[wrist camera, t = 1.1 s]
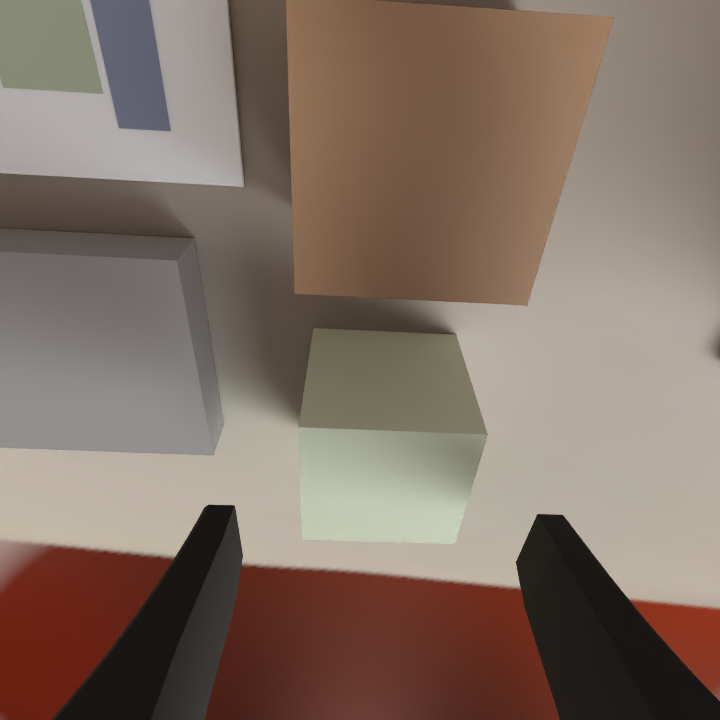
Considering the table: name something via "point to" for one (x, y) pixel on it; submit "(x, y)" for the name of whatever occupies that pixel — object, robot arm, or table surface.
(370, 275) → the block
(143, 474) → the table surface
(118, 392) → the slab
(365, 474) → the block
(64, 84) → the blueprint sheet
